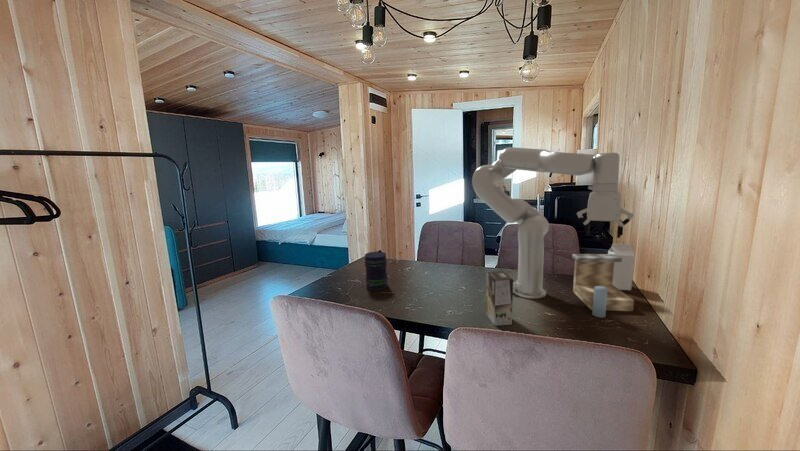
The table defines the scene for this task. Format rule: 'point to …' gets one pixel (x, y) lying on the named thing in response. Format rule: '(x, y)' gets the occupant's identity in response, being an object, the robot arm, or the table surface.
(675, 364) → the table surface
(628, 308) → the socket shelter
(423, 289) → the table surface
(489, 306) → the coffee box
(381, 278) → the storage jar
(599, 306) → the peg
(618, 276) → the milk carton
